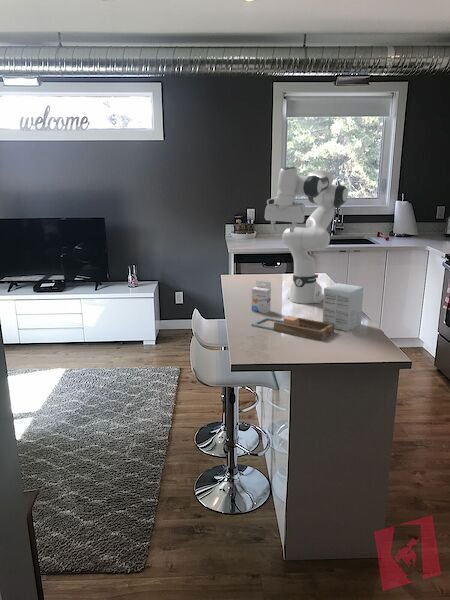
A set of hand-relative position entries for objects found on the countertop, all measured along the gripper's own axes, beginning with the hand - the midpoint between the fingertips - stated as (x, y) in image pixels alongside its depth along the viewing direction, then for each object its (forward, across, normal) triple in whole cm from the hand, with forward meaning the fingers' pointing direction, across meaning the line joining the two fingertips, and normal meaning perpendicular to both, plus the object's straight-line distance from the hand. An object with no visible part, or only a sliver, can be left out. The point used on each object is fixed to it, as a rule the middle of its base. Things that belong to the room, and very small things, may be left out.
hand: (282, 231), depth 229 cm
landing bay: (+42, -7, +16) cm, 45 cm away
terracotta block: (+42, -18, +16) cm, 48 cm away
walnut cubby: (+42, -24, +16) cm, 51 cm away
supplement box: (+40, -34, -2) cm, 52 cm away
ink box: (+40, +8, 0) cm, 41 cm away
